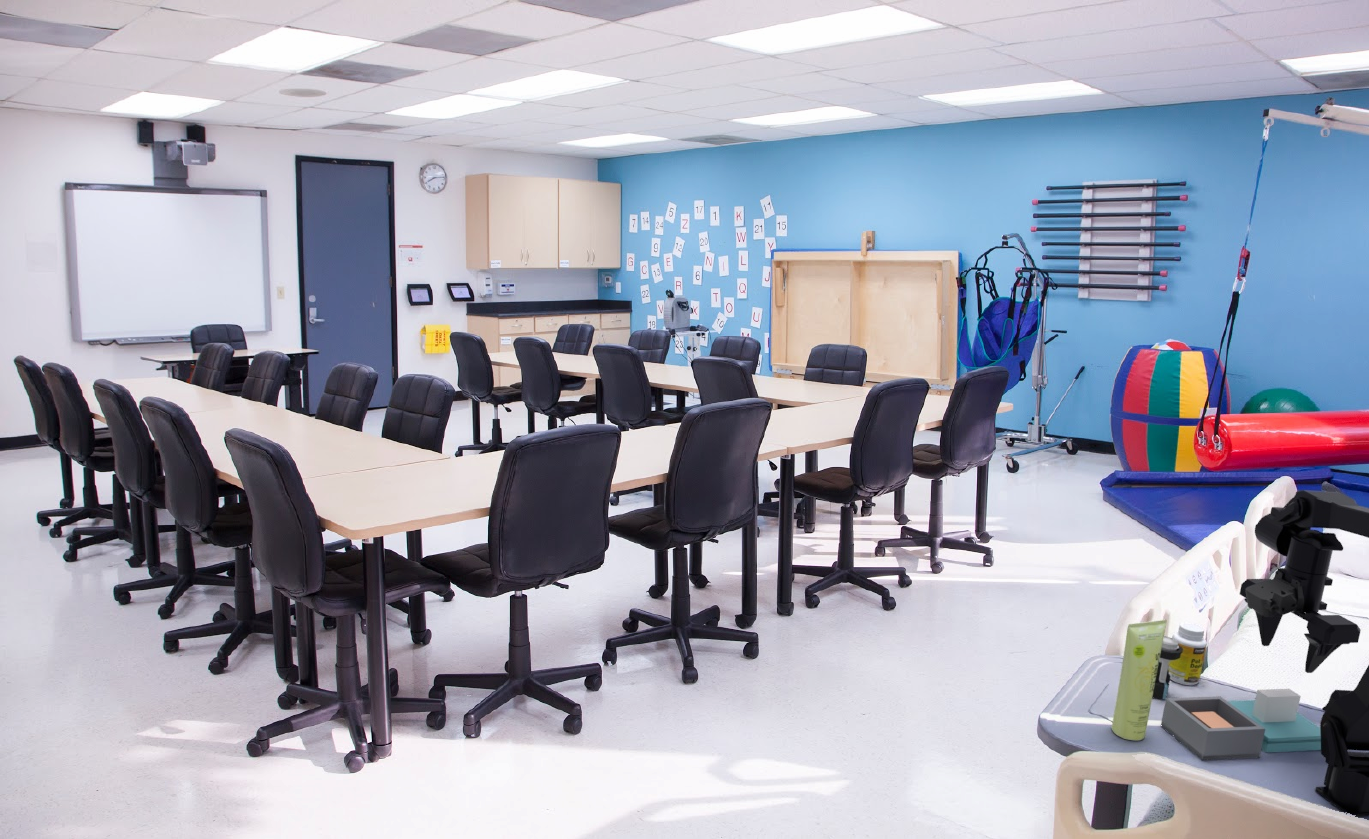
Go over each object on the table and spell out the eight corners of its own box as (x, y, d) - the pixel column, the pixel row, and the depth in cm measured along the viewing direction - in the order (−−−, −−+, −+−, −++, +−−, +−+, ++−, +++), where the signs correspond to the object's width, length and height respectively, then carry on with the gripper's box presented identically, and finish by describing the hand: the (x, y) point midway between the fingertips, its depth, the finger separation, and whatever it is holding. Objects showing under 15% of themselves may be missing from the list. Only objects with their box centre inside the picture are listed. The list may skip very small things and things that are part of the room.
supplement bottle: (1188, 689, 174) (1198, 635, 172) (1158, 675, 178) (1168, 623, 176) (1205, 682, 177) (1215, 629, 175) (1175, 669, 182) (1185, 617, 179)
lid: (1328, 749, 157) (1337, 709, 155) (1265, 752, 155) (1274, 712, 153) (1274, 712, 168) (1283, 674, 166) (1215, 714, 165) (1223, 676, 164)
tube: (1142, 746, 154) (1164, 631, 150) (1108, 736, 156) (1128, 623, 152) (1146, 731, 159) (1167, 619, 154) (1112, 721, 161) (1132, 610, 157)
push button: (1136, 680, 176) (1145, 628, 174) (1168, 685, 175) (1178, 633, 173) (1144, 697, 170) (1153, 644, 168) (1177, 703, 169) (1187, 649, 166)
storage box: (1259, 757, 153) (1265, 728, 152) (1202, 760, 151) (1208, 731, 150) (1214, 723, 162) (1220, 696, 161) (1160, 725, 161) (1165, 698, 160)
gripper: (1220, 546, 162) (1202, 633, 166) (1308, 592, 144) (1286, 689, 148) (1278, 546, 164) (1260, 632, 168) (1373, 591, 146) (1350, 686, 150)
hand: (1286, 658), depth 158 cm, fingers open, 9 cm apart
